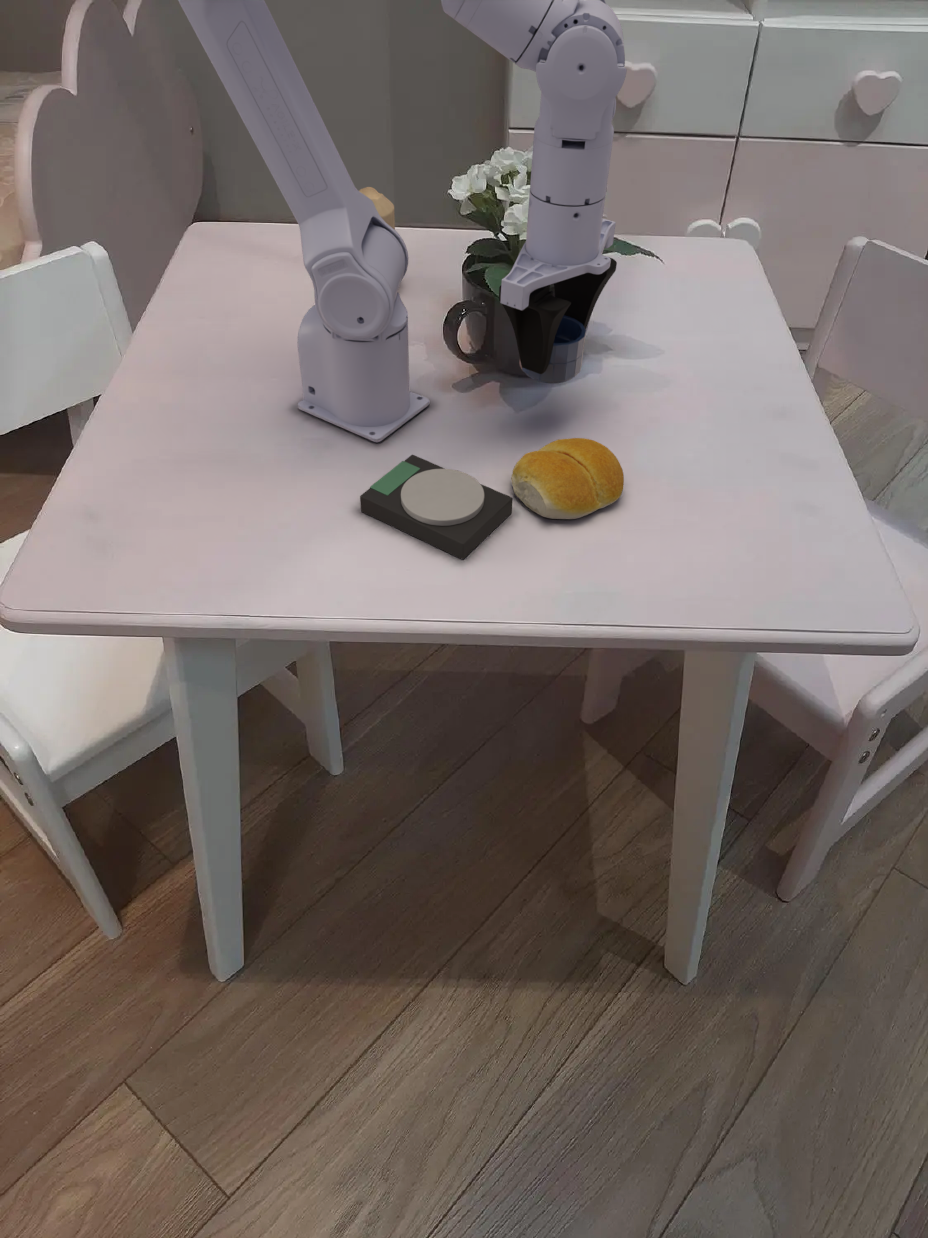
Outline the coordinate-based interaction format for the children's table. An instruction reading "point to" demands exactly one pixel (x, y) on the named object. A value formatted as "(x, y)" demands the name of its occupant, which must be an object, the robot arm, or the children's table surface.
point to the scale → (437, 505)
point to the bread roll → (568, 478)
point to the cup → (563, 353)
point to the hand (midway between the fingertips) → (551, 354)
